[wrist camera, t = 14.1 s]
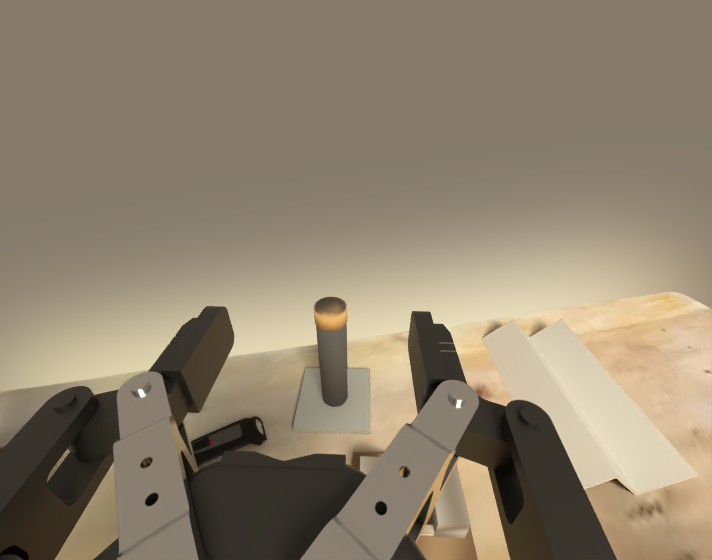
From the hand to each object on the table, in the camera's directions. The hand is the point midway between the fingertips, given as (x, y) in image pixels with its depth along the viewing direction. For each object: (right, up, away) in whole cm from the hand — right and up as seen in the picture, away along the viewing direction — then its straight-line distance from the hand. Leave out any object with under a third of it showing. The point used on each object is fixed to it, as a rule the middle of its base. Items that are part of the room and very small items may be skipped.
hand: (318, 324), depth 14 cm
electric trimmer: (-17, -20, +25) cm, 36 cm away
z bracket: (+31, -16, +32) cm, 47 cm away
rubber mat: (-1, -15, +32) cm, 35 cm away
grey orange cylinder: (-1, -15, +31) cm, 34 cm away
